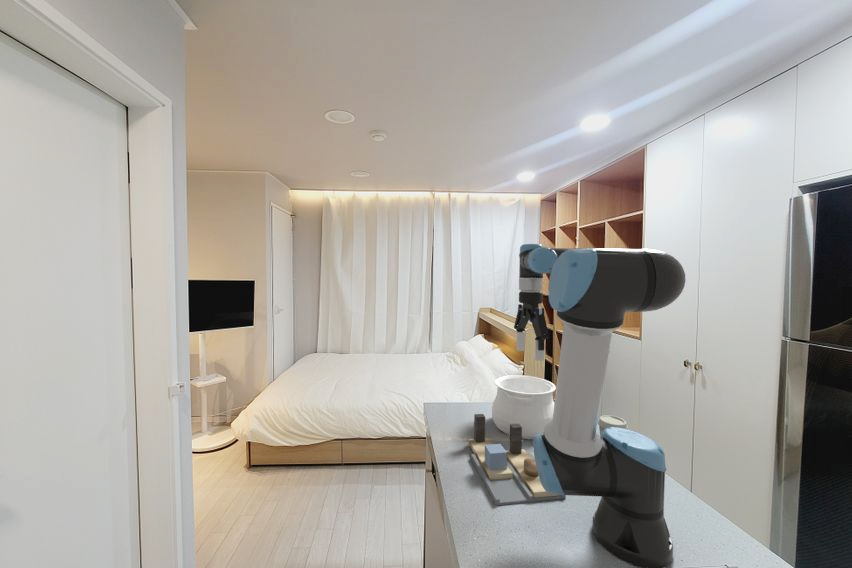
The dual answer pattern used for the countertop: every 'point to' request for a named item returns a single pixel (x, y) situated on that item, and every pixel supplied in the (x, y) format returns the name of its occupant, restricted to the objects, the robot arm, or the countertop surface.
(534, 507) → the countertop surface
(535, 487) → the strip
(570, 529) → the countertop surface
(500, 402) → the pot
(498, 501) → the lane board
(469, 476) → the countertop surface
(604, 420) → the coffee cup
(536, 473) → the brown rounded piece
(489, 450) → the blue block
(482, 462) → the strip
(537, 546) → the countertop surface
